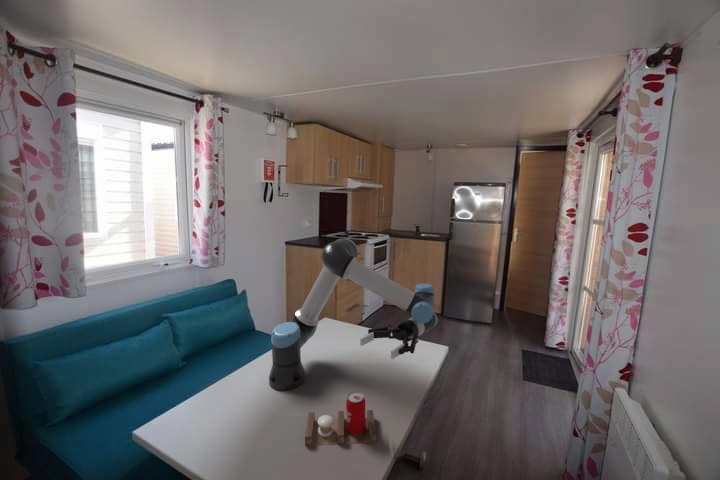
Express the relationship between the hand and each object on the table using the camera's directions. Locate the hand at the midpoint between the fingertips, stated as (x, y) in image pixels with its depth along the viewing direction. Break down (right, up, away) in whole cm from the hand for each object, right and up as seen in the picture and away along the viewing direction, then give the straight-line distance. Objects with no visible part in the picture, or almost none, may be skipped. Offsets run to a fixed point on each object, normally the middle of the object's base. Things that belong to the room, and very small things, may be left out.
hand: (375, 348), depth 106 cm
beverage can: (-7, -26, -4) cm, 27 cm away
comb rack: (-12, -27, -4) cm, 29 cm away
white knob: (-17, -26, -4) cm, 31 cm away
